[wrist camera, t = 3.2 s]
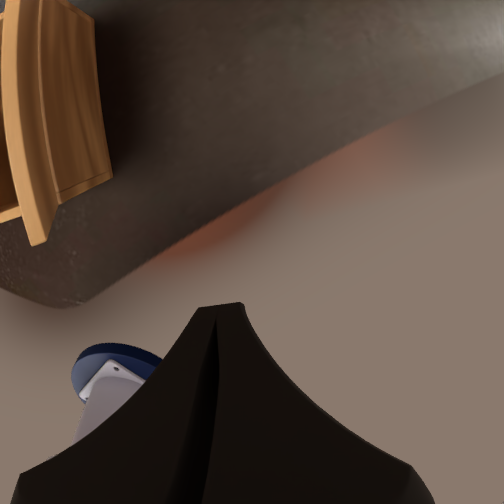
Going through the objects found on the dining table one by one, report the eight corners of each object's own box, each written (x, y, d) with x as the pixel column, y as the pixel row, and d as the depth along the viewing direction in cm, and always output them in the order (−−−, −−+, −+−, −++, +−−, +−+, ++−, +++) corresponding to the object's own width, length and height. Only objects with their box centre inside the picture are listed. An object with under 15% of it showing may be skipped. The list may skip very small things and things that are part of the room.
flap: (33, -17, 6) (42, -20, 6) (50, 207, 10) (59, 204, 10) (38, -108, 1) (51, -111, 1) (31, 247, 5) (47, 241, 5)
